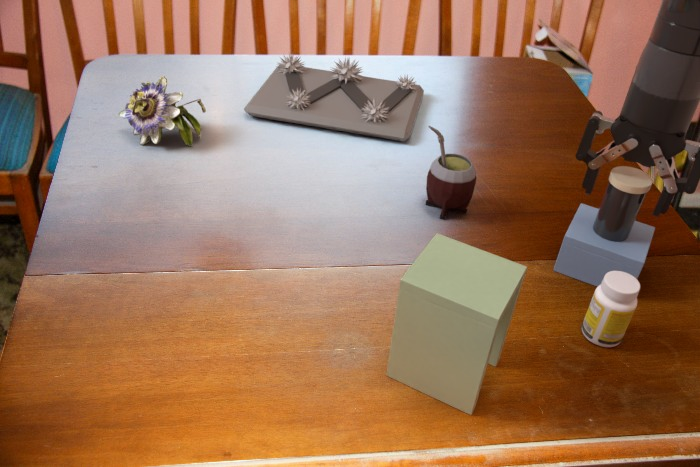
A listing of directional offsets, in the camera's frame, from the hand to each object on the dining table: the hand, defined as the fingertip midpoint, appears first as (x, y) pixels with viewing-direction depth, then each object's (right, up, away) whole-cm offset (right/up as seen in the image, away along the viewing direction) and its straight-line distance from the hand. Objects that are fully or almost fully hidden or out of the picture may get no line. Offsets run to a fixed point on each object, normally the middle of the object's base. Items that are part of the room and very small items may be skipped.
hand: (622, 202), depth 83 cm
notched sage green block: (-24, -19, -10) cm, 32 cm away
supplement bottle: (-4, -16, -4) cm, 17 cm away
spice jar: (0, -4, +3) cm, 5 cm away
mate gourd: (-21, 0, +15) cm, 25 cm away
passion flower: (-66, +12, +27) cm, 72 cm away
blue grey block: (-1, -8, +6) cm, 11 cm away
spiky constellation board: (-37, +20, +40) cm, 58 cm away
